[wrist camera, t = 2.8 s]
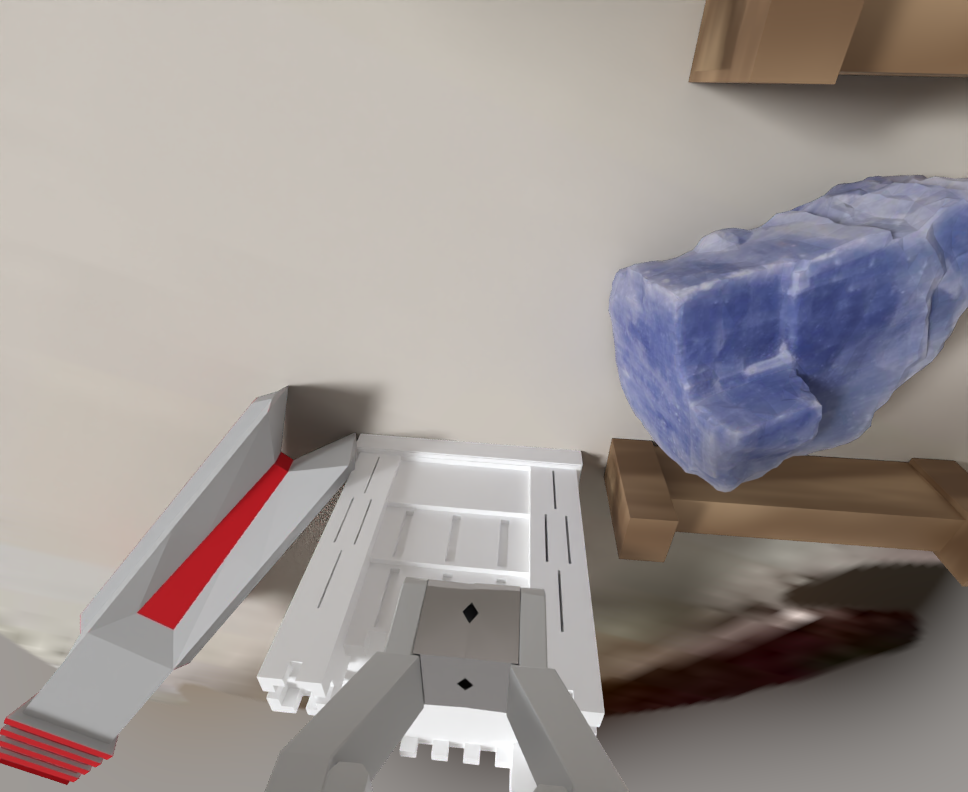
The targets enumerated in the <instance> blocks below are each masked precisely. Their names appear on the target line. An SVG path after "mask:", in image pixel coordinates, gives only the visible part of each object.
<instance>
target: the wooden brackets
mask: <svg viewBox="0 0 968 792" xmlns="http://www.w3.org/2000/svg"><path fill="white" fill-rule="evenodd" d="M838 75H875V76H922V77H968V0H706V3H705V8H704V12H703V17H702V22H701V26H700V31H699V36H698V40H697V45H696V50H695V54H694V59H693V63H692V68H691V73H690V77H689V82H705V83H749V84H835V83H836V80H837V77H838ZM604 480H605V486H606V491H607V496H608V502H609V507H610V513H611V518H612V524H613V529H614V534H615V540H616V545H617V551H618V556H619V559H629V560H641V561H654V562H664V561H665V559H666V556H667V553H668V550H669V548H670V545H671V542H672V539H673V536H674V534H675V532H688V533H701V534H714V535H727V536H740V537H754V538H767V539H780V540H793V541H806V542H819V543H832V544H845V545H859V546H872V547H885V548H898V549H911V550H924V551H933V552H934V554H935V555H936V556H937V557H938V558H939V559H940V561H941V562H942V563H943V564H944V565H945V566H946V568H947V569H948V570H949V571H950V572H951V573H952V574H953V576H954V577H955V578H956V579H957V580H958V582H959V583H960V584H961V585H962V586H967V587H968V472H966V471H965V470H964V469H963V468H962V467H961V466H960V465H959V464H958V463H956V462H955V461H948V460H933V459H918V458H912V459H911V460H910V462H909V463H908V462H893V461H878V460H863V459H847V458H832V457H817V456H792V457H790V458H787V459H785V460H783V462H782V463H781V464H780V465H779V466H778V467H777V468H773V469H771V470H770V471H768V472H767V473H766V474H765V475H763V476H762V477H760V478H757V479H754V480H751V481H747V482H743V483H741V484H740V485H739V486H738V487H736V488H735V489H733V490H732V491H730V492H721V491H718V490H716V489H715V488H714V487H713V486H712V485H711V484H709V483H708V482H707V481H705V480H704V479H703V478H701V477H699V476H698V475H695V474H690V473H686V472H685V471H684V470H683V469H682V467H681V466H680V465H679V464H678V463H677V462H675V461H674V460H673V459H671V458H670V457H669V456H668V455H667V454H666V453H665V452H664V451H663V450H662V449H661V448H660V447H659V446H653V443H652V441H643V440H628V439H613V438H612V441H611V446H610V451H609V455H608V460H607V465H606V469H605V474H604Z"/></svg>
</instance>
